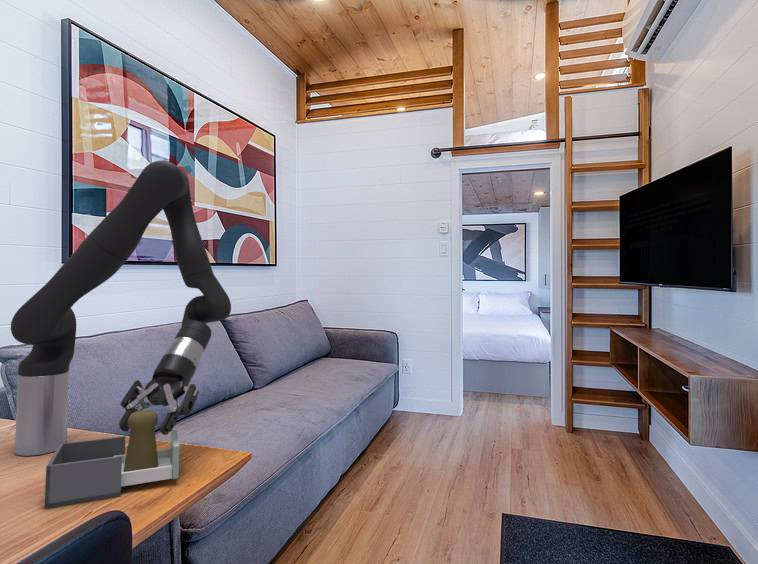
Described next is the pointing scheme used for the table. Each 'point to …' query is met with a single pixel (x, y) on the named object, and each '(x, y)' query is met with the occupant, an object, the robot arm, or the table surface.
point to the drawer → (165, 469)
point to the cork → (141, 441)
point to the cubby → (84, 472)
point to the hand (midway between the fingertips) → (143, 431)
